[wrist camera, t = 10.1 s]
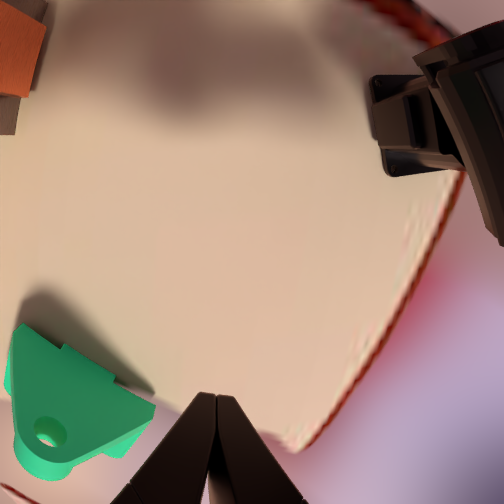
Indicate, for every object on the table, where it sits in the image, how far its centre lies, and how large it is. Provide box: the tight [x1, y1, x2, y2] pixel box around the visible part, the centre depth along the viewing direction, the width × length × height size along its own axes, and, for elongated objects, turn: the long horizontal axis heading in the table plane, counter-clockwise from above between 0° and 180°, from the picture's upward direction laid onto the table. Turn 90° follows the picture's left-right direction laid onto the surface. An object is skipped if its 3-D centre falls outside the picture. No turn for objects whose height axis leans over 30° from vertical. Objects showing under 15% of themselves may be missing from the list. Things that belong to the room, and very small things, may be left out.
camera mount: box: [4, 323, 156, 481], centre depth 17 cm, size 12×8×10 cm, turn 56°
